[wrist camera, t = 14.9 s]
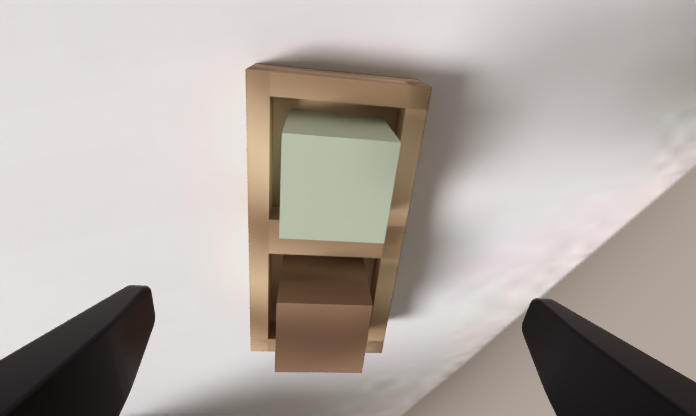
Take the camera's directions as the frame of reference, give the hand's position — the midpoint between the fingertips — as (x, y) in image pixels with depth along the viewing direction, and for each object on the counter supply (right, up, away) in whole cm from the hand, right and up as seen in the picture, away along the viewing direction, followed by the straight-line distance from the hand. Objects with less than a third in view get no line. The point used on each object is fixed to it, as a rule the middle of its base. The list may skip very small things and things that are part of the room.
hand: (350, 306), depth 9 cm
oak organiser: (-1, +2, +13) cm, 13 cm away
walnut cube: (-2, -2, +14) cm, 14 cm away
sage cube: (-1, +5, +10) cm, 11 cm away
